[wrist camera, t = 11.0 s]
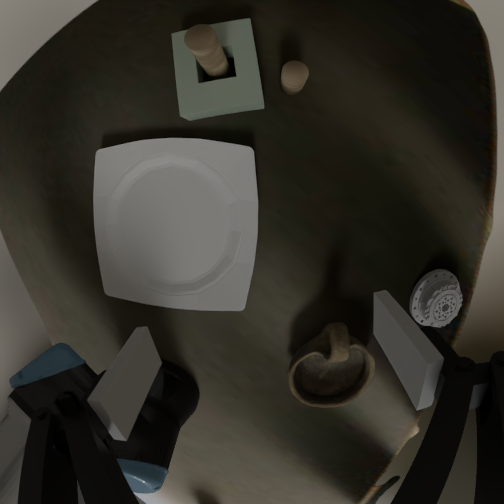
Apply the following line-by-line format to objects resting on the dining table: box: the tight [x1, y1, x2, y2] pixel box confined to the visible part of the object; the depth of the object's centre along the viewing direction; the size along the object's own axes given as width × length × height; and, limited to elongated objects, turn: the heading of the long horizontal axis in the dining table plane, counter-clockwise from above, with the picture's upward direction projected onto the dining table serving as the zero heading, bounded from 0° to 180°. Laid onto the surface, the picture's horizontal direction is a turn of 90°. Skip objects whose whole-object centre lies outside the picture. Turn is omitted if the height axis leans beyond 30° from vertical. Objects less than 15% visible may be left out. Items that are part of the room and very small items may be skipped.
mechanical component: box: [409, 269, 463, 328], centre depth 39 cm, size 10×4×10 cm
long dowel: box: [184, 24, 232, 81], centre depth 27 cm, size 3×3×13 cm
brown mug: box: [287, 322, 375, 407], centre depth 40 cm, size 14×18×10 cm
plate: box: [93, 138, 258, 311], centre depth 39 cm, size 24×24×3 cm
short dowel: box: [280, 61, 309, 95], centre depth 31 cm, size 3×3×6 cm
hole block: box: [172, 18, 264, 121], centre depth 31 cm, size 10×12×4 cm
